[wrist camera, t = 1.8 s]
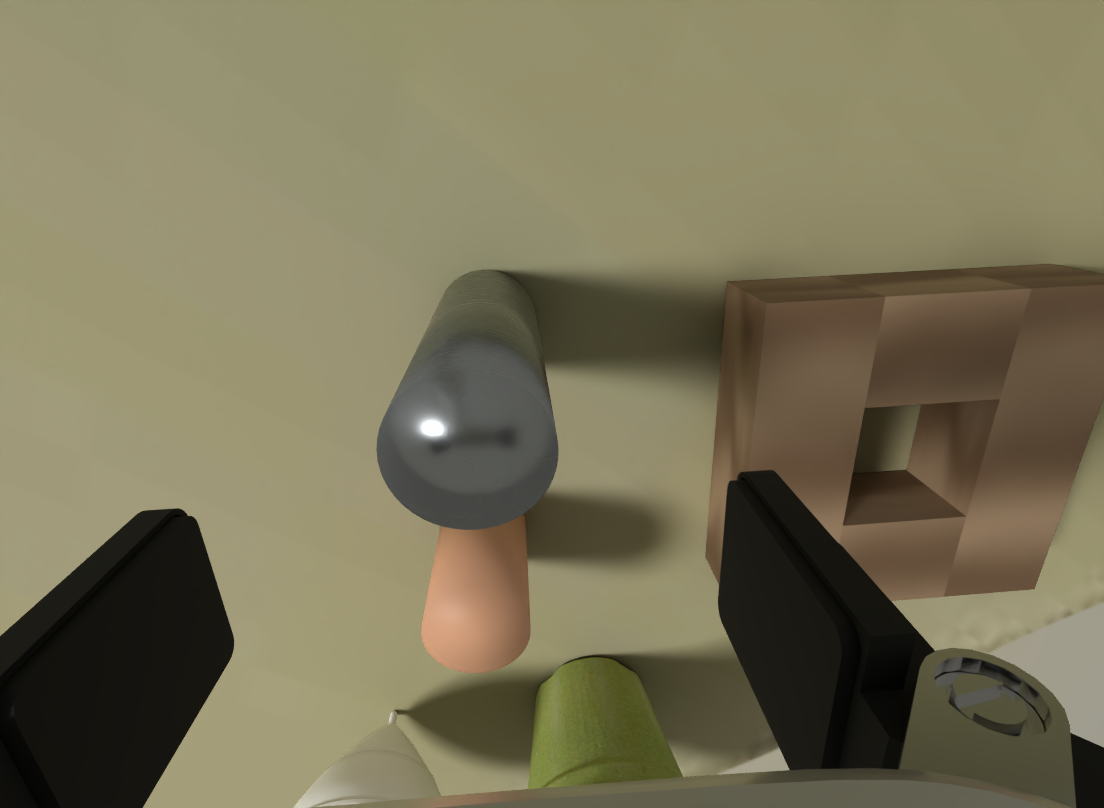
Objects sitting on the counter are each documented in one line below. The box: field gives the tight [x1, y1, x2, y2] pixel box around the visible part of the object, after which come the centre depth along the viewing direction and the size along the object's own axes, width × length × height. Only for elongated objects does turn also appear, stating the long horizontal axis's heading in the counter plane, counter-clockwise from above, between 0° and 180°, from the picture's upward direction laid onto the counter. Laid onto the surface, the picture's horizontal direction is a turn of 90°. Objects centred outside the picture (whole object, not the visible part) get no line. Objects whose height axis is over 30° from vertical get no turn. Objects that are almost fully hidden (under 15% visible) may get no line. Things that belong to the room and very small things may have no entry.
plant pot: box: [528, 657, 683, 789], centre depth 29 cm, size 9×9×9 cm
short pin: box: [421, 514, 530, 673], centre depth 25 cm, size 4×4×7 cm
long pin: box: [377, 270, 558, 530], centre depth 18 cm, size 4×4×12 cm
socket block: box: [706, 264, 1104, 601], centre depth 25 cm, size 14×14×4 cm
